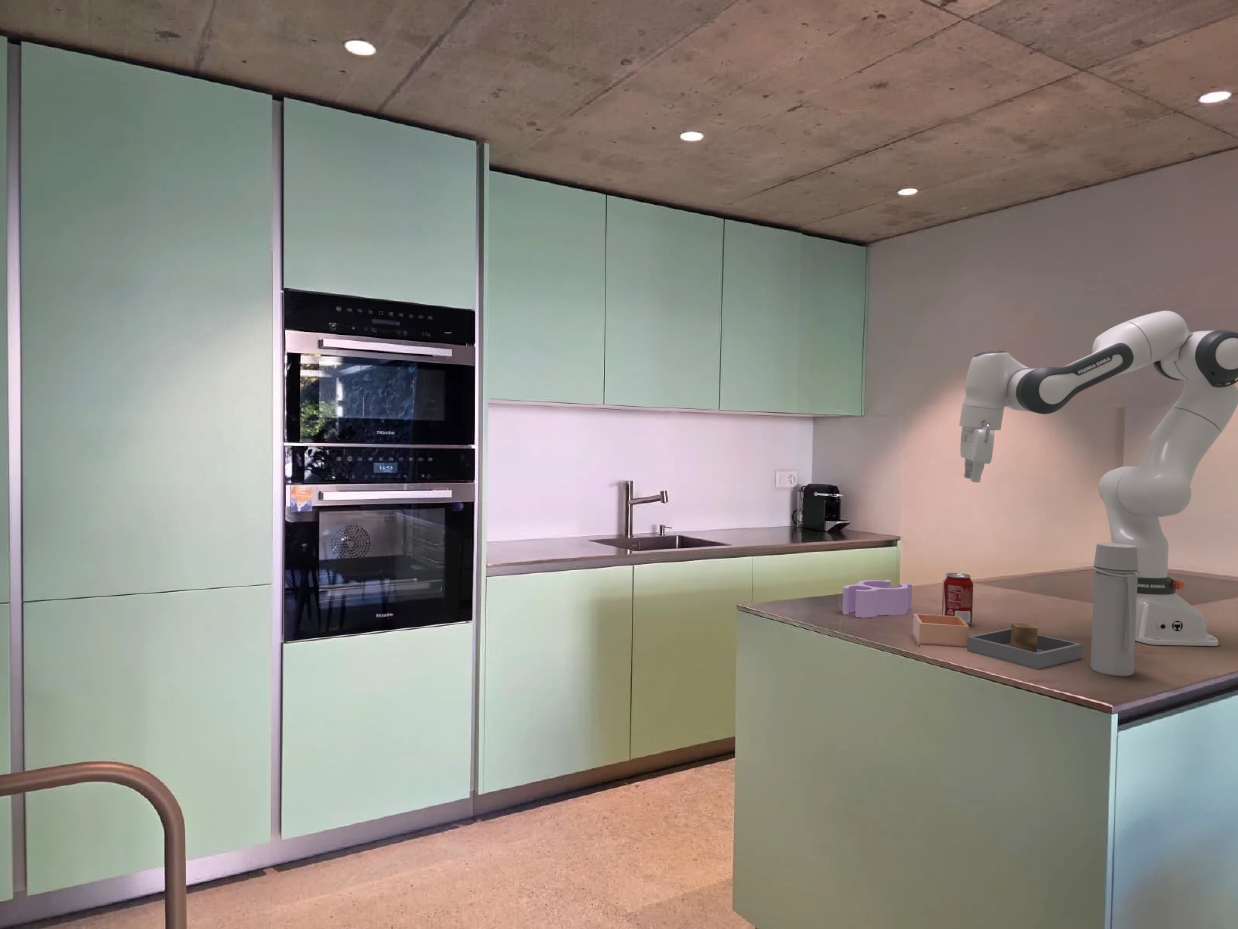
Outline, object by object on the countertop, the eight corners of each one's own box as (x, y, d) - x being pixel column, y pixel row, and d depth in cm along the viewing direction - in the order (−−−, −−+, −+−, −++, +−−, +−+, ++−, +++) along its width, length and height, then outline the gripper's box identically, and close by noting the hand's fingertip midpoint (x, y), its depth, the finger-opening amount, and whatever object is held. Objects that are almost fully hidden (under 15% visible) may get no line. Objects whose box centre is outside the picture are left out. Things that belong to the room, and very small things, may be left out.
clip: (870, 621, 198) (871, 593, 198) (830, 612, 208) (831, 585, 208) (920, 612, 210) (920, 585, 209) (879, 603, 220) (880, 578, 220)
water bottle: (1080, 668, 160) (1085, 542, 159) (1119, 668, 160) (1124, 542, 159) (1109, 682, 151) (1114, 549, 150) (1151, 683, 151) (1156, 549, 150)
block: (1031, 652, 169) (1032, 624, 168) (1036, 657, 165) (1037, 628, 165) (1010, 651, 170) (1011, 622, 169) (1015, 656, 166) (1016, 627, 165)
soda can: (974, 628, 192) (976, 578, 192) (944, 626, 194) (946, 576, 193) (968, 621, 199) (970, 573, 198) (939, 620, 200) (940, 571, 200)
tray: (1010, 644, 178) (1010, 628, 178) (1081, 661, 165) (1081, 644, 165) (966, 653, 170) (967, 636, 169) (1038, 672, 157) (1038, 654, 156)
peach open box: (959, 638, 182) (960, 616, 182) (968, 649, 172) (969, 626, 172) (912, 635, 184) (913, 613, 184) (918, 646, 174) (919, 623, 174)
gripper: (1004, 423, 175) (994, 486, 177) (987, 421, 195) (978, 478, 196) (973, 420, 177) (964, 482, 178) (959, 418, 197) (950, 474, 198)
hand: (971, 480), depth 187 cm, fingers open, 8 cm apart
